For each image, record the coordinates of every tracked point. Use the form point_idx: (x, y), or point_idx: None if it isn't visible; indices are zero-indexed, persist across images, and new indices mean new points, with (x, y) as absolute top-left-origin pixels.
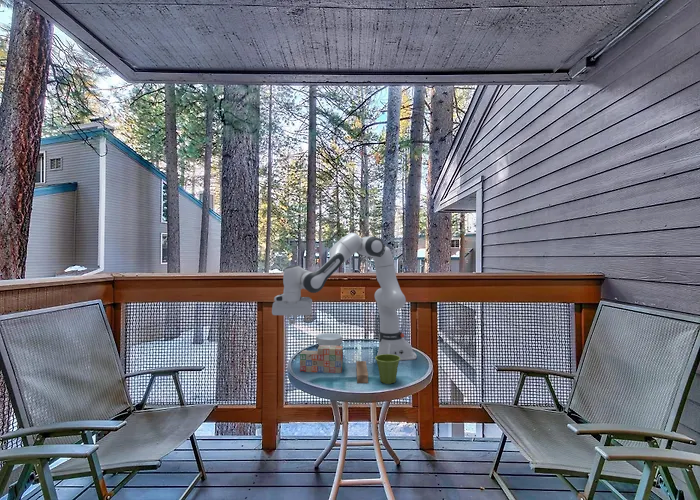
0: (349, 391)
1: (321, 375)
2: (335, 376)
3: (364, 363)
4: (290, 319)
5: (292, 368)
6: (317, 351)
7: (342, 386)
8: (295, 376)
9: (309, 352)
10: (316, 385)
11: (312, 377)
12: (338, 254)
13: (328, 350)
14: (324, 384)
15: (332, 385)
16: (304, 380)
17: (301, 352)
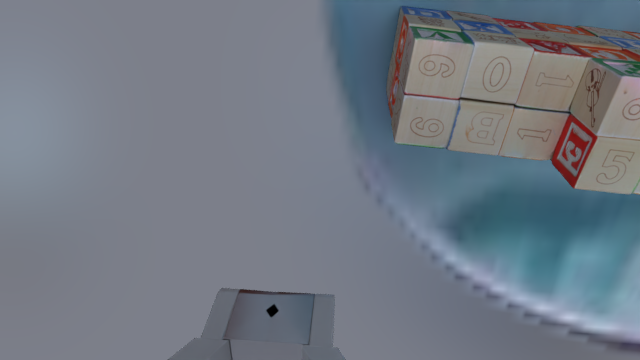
0: (616, 330)
1: None
2: None
3: None
4: (220, 356)
5: (326, 24)
6: (567, 76)
7: (602, 288)
8: (363, 164)
9: (483, 109)
10: (476, 272)
11: (463, 183)
12: None
13: None
14: (517, 265)
15: (555, 276)
16: (417, 217)
17: (406, 103)
